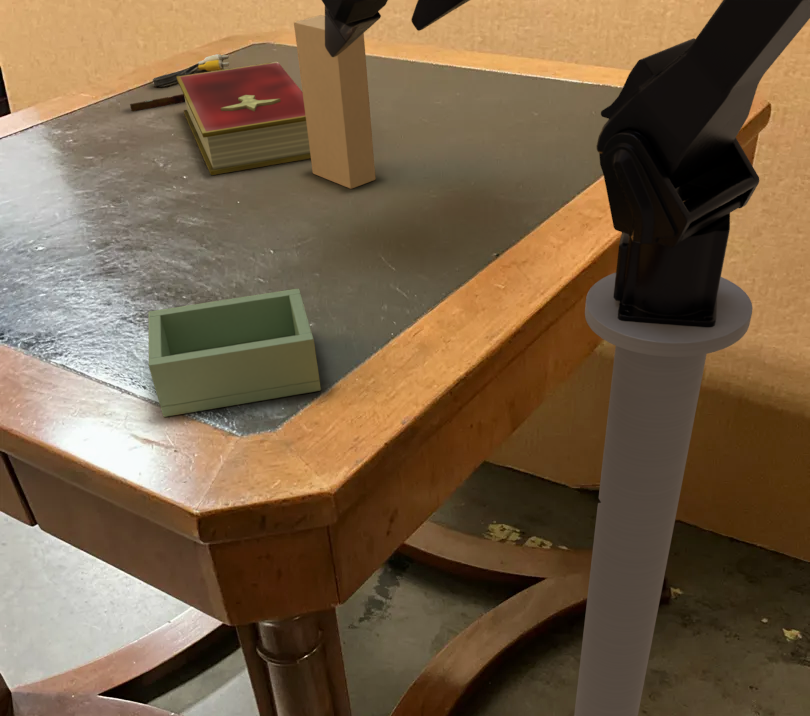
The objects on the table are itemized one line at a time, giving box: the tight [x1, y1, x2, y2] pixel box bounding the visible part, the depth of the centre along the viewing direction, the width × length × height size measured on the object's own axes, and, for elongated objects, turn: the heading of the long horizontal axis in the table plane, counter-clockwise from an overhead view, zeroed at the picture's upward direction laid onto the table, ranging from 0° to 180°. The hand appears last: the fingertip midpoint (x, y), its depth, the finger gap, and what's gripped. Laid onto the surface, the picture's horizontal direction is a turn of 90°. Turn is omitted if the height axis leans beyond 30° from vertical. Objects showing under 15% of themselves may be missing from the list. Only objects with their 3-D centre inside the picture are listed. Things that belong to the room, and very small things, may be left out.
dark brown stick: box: [129, 93, 186, 112], centre depth 107 cm, size 15×1×1 cm, turn 113°
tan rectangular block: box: [293, 14, 376, 190], centre depth 81 cm, size 3×6×13 cm, turn 41°
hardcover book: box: [177, 61, 311, 176], centre depth 95 cm, size 12×21×4 cm, turn 18°
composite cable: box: [152, 53, 230, 87], centre depth 113 cm, size 10×5×2 cm, turn 106°
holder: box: [147, 287, 322, 418], centre depth 58 cm, size 7×10×4 cm
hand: (374, 38), depth 71 cm, fingers open, 9 cm apart
